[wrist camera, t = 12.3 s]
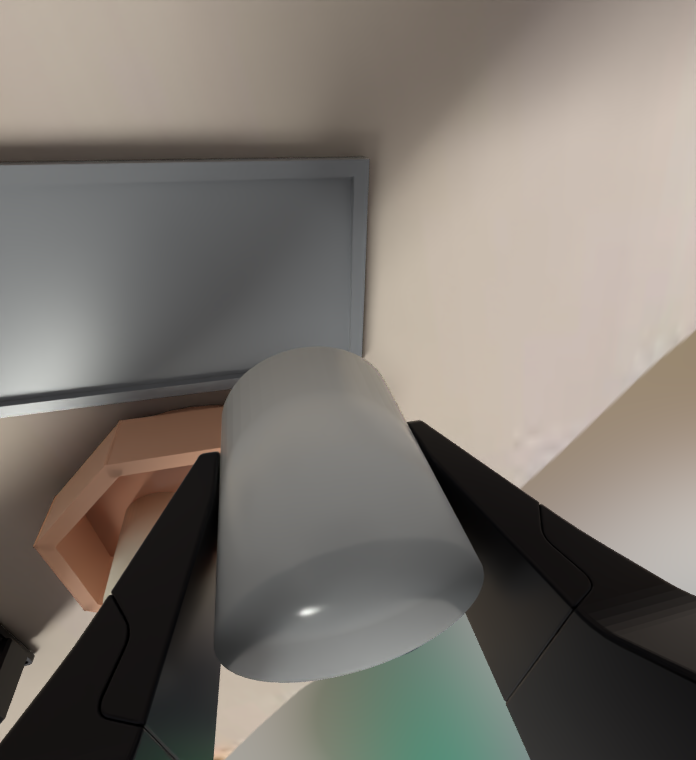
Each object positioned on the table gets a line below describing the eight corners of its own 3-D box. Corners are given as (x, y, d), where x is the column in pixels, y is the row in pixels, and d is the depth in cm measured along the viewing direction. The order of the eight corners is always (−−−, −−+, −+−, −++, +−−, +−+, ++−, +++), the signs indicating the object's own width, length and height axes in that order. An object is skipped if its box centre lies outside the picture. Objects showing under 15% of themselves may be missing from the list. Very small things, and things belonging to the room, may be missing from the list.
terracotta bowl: (122, 589, 28) (110, 644, 25) (19, 425, 19) (-19, 483, 16) (337, 544, 31) (348, 588, 28) (336, 384, 22) (352, 426, 19)
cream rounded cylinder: (209, 530, 26) (205, 608, 22) (137, 543, 25) (119, 628, 21) (195, 485, 23) (188, 565, 19) (114, 499, 22) (88, 585, 18)
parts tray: (-22, 410, 18) (-31, 421, 18) (-191, 164, 12) (-214, 168, 12) (357, 364, 22) (361, 372, 21) (363, 156, 16) (369, 159, 15)
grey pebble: (235, 489, 11) (237, 704, 7) (205, 357, 9) (181, 580, 5) (384, 463, 12) (458, 643, 8) (396, 336, 9) (513, 510, 6)
